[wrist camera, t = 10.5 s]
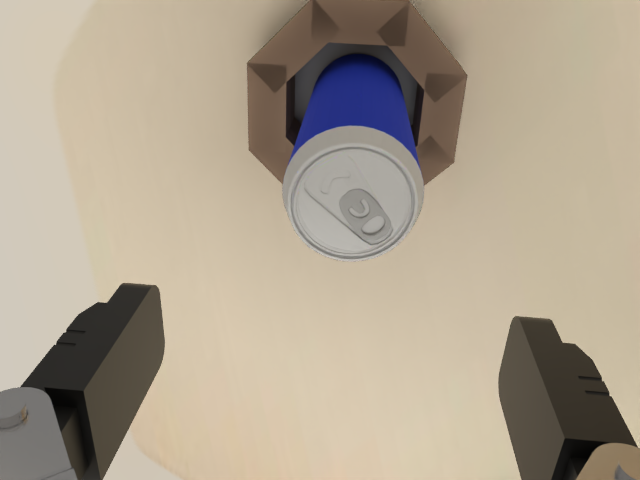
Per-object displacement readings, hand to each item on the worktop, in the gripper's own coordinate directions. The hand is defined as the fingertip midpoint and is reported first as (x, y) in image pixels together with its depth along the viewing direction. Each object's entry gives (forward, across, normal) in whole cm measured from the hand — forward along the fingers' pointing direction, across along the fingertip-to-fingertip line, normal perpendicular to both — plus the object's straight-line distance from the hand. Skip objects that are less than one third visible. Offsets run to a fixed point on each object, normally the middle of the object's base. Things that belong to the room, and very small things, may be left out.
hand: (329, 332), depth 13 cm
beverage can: (+23, 0, 0) cm, 23 cm away
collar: (+24, 0, 0) cm, 24 cm away
